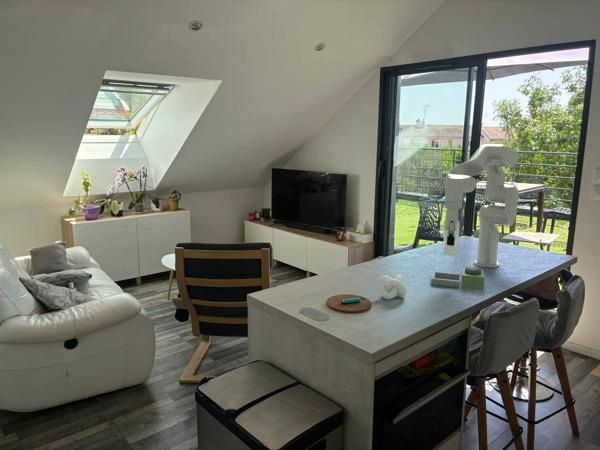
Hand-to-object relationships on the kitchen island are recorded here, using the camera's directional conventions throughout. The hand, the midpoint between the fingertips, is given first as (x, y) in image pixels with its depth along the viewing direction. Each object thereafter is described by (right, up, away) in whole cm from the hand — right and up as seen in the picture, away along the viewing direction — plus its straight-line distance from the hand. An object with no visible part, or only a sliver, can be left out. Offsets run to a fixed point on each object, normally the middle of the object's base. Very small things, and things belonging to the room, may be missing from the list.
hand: (450, 243), depth 212 cm
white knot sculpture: (-29, -23, -15) cm, 40 cm away
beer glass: (0, -5, +1) cm, 5 cm away
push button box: (+4, -19, +3) cm, 19 cm away
